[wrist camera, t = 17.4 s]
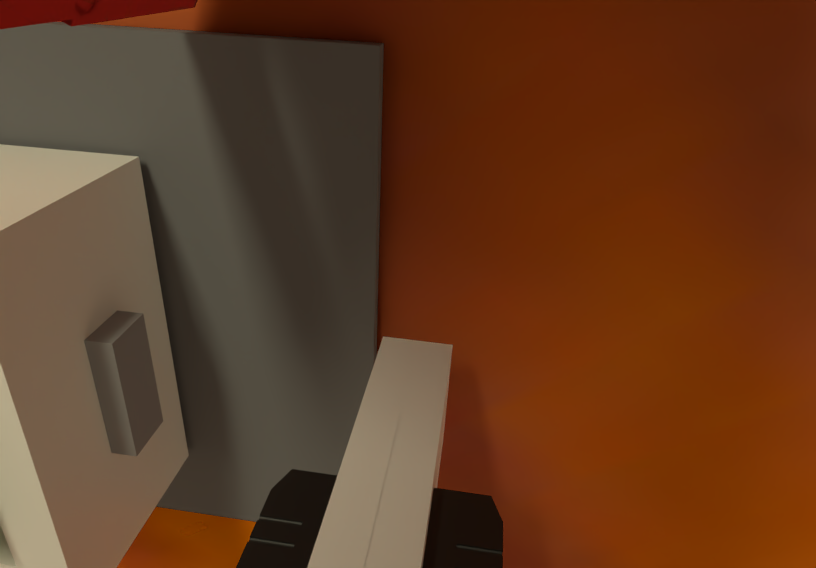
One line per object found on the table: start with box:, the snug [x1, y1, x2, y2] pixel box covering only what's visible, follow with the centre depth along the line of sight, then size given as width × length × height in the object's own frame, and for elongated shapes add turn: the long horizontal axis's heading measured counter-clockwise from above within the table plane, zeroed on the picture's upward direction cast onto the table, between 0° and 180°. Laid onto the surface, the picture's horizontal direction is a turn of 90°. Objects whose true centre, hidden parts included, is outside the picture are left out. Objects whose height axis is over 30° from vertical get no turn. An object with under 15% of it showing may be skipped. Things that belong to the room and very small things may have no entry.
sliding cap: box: [0, 144, 189, 568], centre depth 14 cm, size 9×6×5 cm
